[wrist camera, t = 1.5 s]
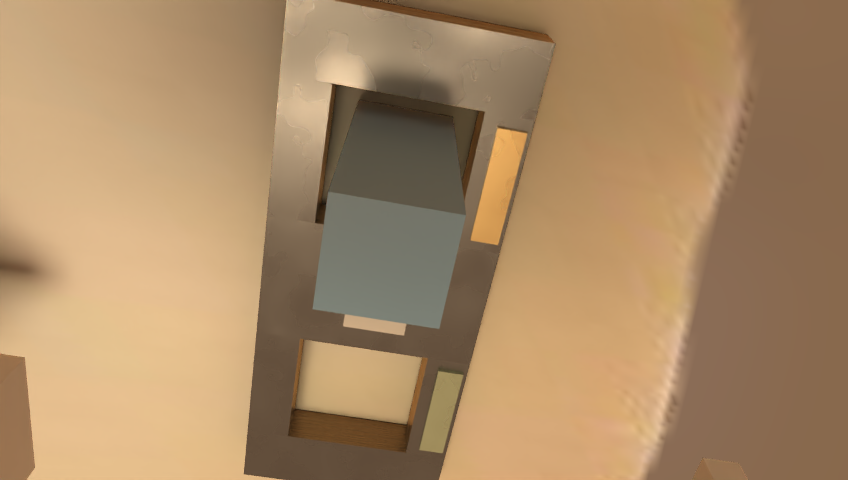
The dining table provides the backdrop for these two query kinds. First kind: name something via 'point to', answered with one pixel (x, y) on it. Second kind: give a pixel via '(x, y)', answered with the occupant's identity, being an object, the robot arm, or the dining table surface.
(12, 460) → the robot arm
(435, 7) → the dining table surface
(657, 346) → the dining table surface
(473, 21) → the panel
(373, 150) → the plug
